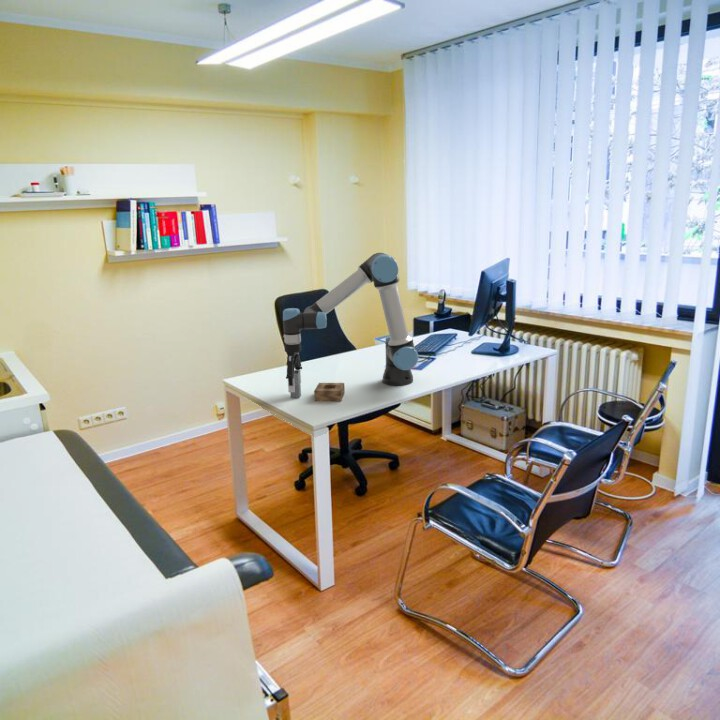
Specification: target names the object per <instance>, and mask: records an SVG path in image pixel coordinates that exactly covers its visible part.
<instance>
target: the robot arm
mask: <svg viewBox="0 0 720 720" xmlns="http://www.w3.org/2000/svg"><path fill="white" fill-rule="evenodd" d="M371 283H373V286H374V288H375V289H377V290H378V293H379V297H380V301H381V305H382V310H383V315H384V318H385V322H386V326H387V330H388V335H389V336H388V335H387V336H386V338H385V341H384V344H385V368H384V371H383V374H382V382H383V384H386V385H389V386H406V385H409V384H412V383H413V382H414V375H413V373H412V372H413V371H412V369H413V368H414V367H415V366H416V365H417V363H418V361H419V353H418V351H417V350H416V348H415V343H414V339H413V337H412V336H410V335H409V332H408V328H407V323H406V319H405V315H404V310H403V309H404V308H403V306H402V301H401V297H400V296H401V295H400V292H399V287H398V285H399V283H400V276H399V264H398V262H397V260H395V258H394V257H393V256H392V255H389V254H387V253H384V252H376V253H374V254H372V255H371V256H370V257H368V258H367V259H366V260H364V262H362V263H361V264H360V265H358V266H357V270H356V271H355V272H353V273H352V274H351V275H349V276H348V277H347V278H346V279H344V280H343V281H341V282H340V283H338V284H337V285H336V286H335V287H334V288H332V289H331V290H329V292H327V293H326V294H324V295H323V296H322V297H321V298H320V299H318V300H316V302H315V303H313V304H312V305H310V306H307V307H306V308H305V309H303V310H304V311H303V312H301V311H300V308H295V307H291V308H289V307H288V308H284V309H283V311H282V323H283V324H282V325H283V327H282V329H283V335H282V338H284V339H283V341H284V352H285V353H288V356H287V357H286V360H287V363H286V364H287V365H286V376H285V379H286V380H287V386H288V393H290V392H295V385H294V371H300V384H301V383H302V378H301V377H302V374H301V371H302V370H303V366H302V362H301V358H300V352H302V336H301V335H302V333H301V331H302V330H321V329H325V328H327V325H328V323H327V321H328V319H327V314H329V313H330V312H332V311H333V310H334V309H336V307H338V306H339V305H341V304H342V303H343V302H344V301H345V300H347V299H348V298H350V297H351V296H353V295H354V294H355V293H356V292H358V291H359V290H360V289H362V288H363V287H364V286H365V285H367V284H371ZM290 375H291V376H290Z"/></svg>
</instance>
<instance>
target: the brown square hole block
mask: <svg viewBox="0 0 720 720" xmlns="http://www.w3.org/2000/svg"><path fill="white" fill-rule="evenodd" d="M313 393H314V402H342V401H343V398H344V396H345V383H344V382H318V384H317V385H316V387H315V389H314V391H313Z"/></svg>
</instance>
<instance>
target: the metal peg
mask: <svg viewBox="0 0 720 720" xmlns="http://www.w3.org/2000/svg"><path fill="white" fill-rule="evenodd" d="M300 371H301V370H300ZM300 371H294V385H295V392H289V393H290V394H289V395H290V399H300V398H301V396H302V390H301V386H302V385H301V383H300ZM290 376H291V375H290Z"/></svg>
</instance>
